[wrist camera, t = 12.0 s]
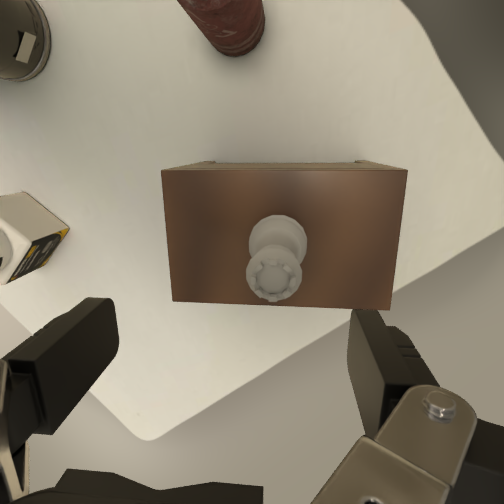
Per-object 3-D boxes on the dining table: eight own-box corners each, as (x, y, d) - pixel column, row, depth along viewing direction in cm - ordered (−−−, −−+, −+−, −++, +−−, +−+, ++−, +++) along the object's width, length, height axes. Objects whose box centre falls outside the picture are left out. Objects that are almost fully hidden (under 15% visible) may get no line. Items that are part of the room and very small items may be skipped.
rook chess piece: (299, 273, 27) (303, 324, 19) (245, 262, 27) (227, 308, 19) (313, 219, 25) (322, 252, 18) (255, 208, 26) (240, 234, 18)
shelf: (209, 252, 42) (172, 301, 29) (204, 161, 39) (160, 170, 26) (357, 255, 40) (390, 310, 27) (366, 160, 37) (408, 169, 24)
